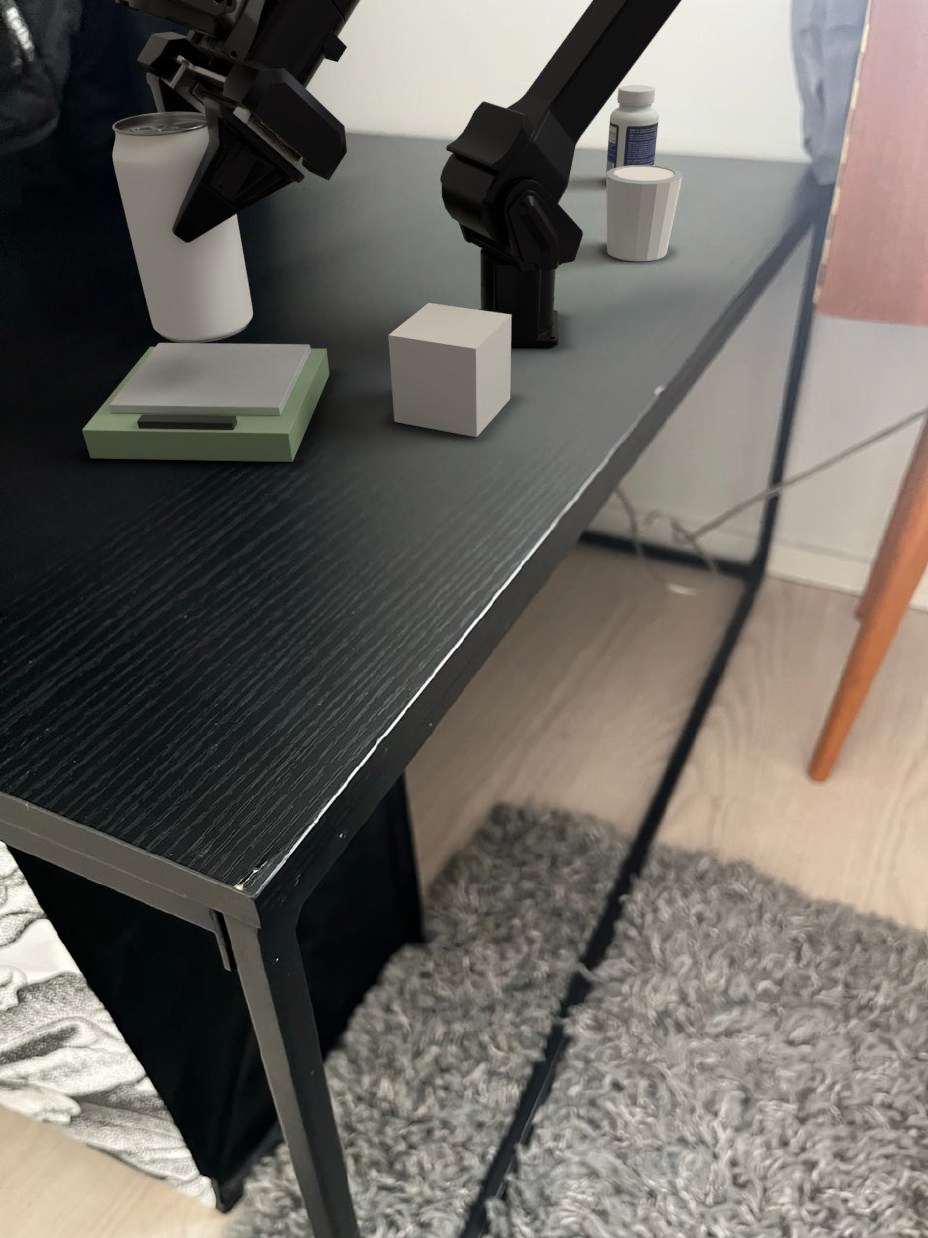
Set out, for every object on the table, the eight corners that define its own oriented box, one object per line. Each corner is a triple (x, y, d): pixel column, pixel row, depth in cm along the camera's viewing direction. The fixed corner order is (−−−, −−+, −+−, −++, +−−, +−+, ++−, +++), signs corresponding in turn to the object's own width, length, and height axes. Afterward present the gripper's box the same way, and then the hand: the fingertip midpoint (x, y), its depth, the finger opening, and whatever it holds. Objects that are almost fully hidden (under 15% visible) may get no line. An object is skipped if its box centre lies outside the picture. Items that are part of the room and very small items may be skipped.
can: (269, 329, 60) (236, 123, 53) (172, 353, 58) (122, 139, 50) (233, 299, 65) (197, 105, 57) (141, 320, 62) (91, 119, 55)
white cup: (672, 265, 86) (682, 183, 82) (597, 261, 87) (603, 180, 83) (674, 242, 91) (683, 164, 87) (603, 238, 93) (609, 162, 88)
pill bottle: (659, 180, 109) (669, 85, 103) (640, 191, 106) (649, 93, 100) (617, 174, 112) (624, 81, 106) (597, 185, 108) (603, 89, 102)
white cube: (510, 399, 65) (512, 314, 61) (476, 437, 61) (476, 348, 57) (431, 385, 67) (428, 302, 63) (393, 421, 63) (388, 334, 59)
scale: (292, 462, 59) (287, 424, 57) (90, 458, 59) (79, 420, 58) (329, 374, 69) (325, 340, 67) (156, 372, 69) (148, 338, 68)
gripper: (133, -132, 55) (-1, 106, 57) (257, -137, 42) (78, 168, 45) (279, 15, 63) (156, 218, 65) (418, 47, 50) (260, 297, 53)
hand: (161, 223), depth 57 cm, fingers closed on can, 6 cm apart
